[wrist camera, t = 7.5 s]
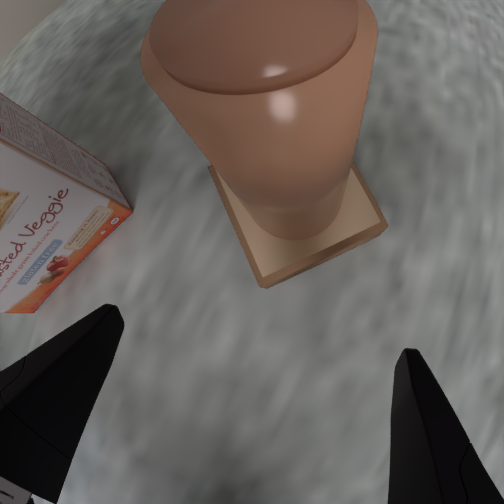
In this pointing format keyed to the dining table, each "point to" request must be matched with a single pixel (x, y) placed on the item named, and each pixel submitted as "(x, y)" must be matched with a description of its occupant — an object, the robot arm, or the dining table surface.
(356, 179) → the plinth
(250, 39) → the tan lidded canister
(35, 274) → the cracker box
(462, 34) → the dining table surface
